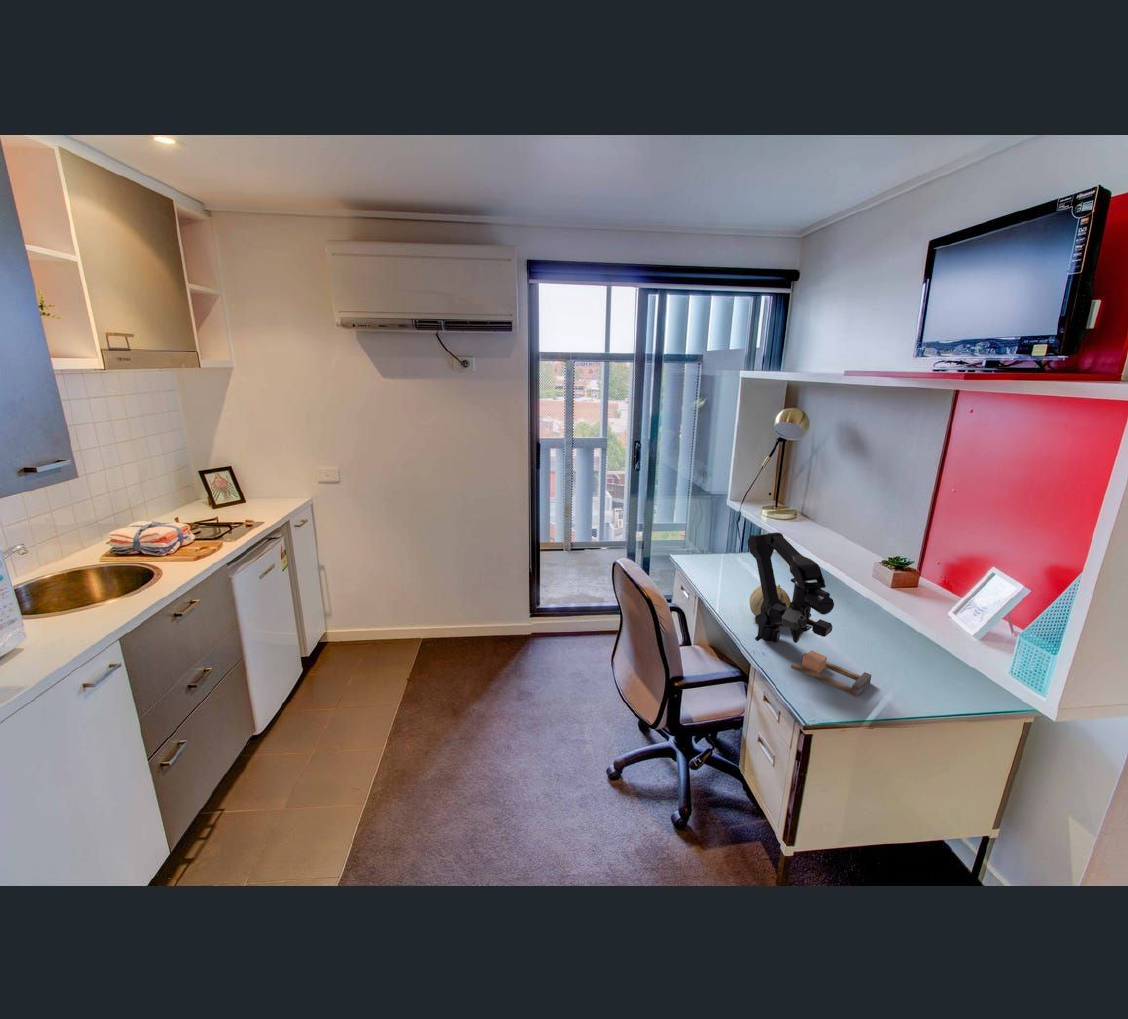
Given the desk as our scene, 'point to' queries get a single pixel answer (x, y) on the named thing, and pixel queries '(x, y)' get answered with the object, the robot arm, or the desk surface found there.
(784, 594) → the cantaloupe
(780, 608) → the robot arm
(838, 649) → the desk surface
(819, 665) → the block
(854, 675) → the channel
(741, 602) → the desk surface
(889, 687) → the desk surface
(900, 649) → the desk surface
